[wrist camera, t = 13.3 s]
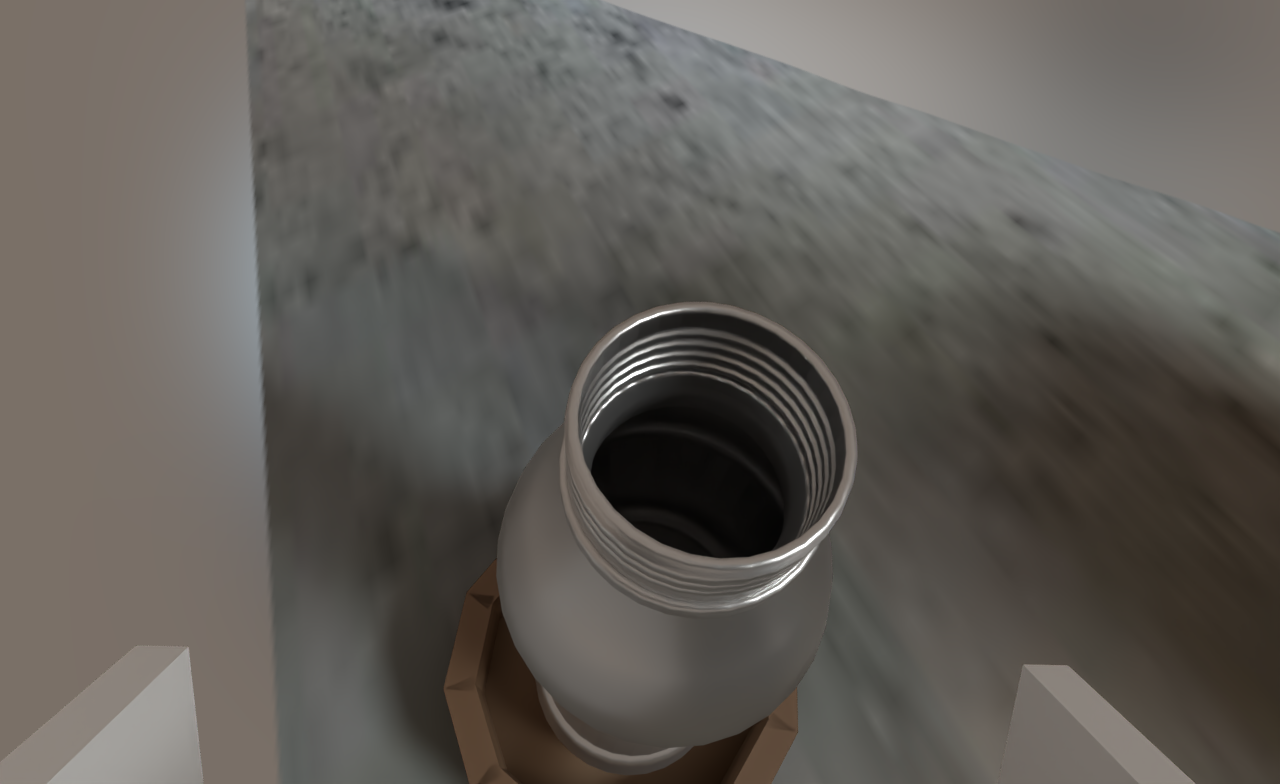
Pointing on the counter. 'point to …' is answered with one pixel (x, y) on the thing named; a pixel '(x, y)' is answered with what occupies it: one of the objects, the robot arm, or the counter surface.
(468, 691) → the bowl
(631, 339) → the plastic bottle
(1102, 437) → the counter surface
